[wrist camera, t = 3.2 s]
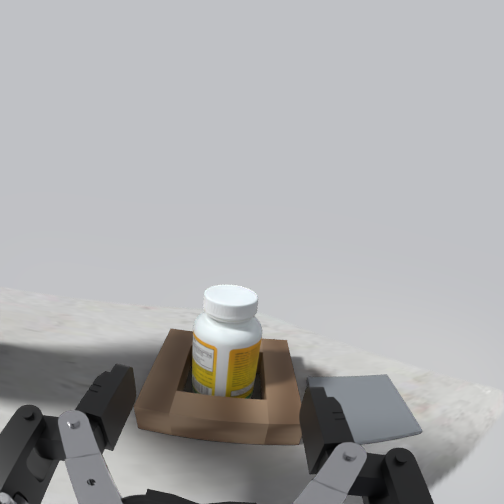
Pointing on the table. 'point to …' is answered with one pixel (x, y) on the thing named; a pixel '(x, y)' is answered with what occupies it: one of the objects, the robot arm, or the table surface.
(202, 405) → the socket block
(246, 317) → the supplement bottle
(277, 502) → the table surface
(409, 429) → the rubber mat
